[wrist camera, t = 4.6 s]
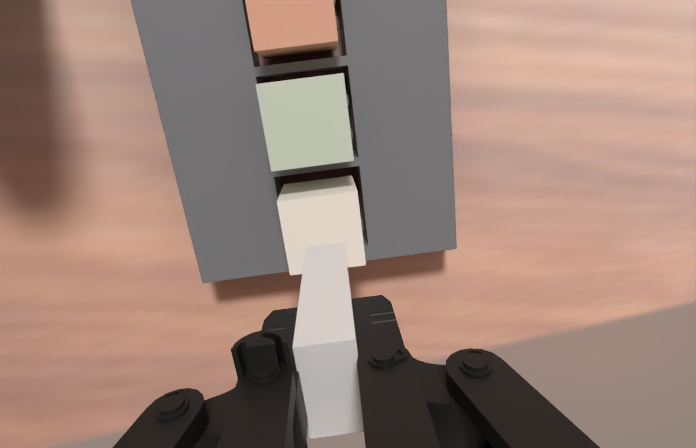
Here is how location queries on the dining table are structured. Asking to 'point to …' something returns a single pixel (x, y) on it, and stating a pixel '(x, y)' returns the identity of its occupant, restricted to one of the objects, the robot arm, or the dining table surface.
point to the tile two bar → (306, 121)
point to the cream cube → (321, 219)
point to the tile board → (249, 139)
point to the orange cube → (292, 26)
